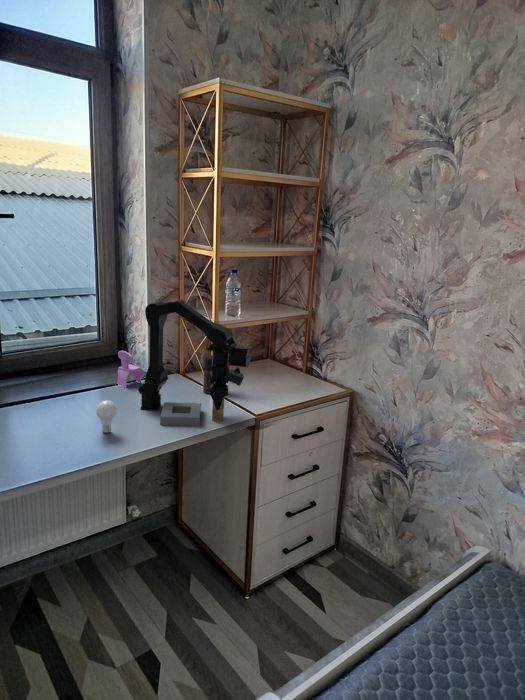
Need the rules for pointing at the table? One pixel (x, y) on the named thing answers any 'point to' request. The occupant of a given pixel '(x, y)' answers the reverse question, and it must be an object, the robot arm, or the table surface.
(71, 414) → the table surface
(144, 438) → the table surface
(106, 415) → the lightbulb
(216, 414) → the peg
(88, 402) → the table surface
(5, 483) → the table surface
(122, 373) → the toy chair
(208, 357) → the deodorant
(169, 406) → the socket block
